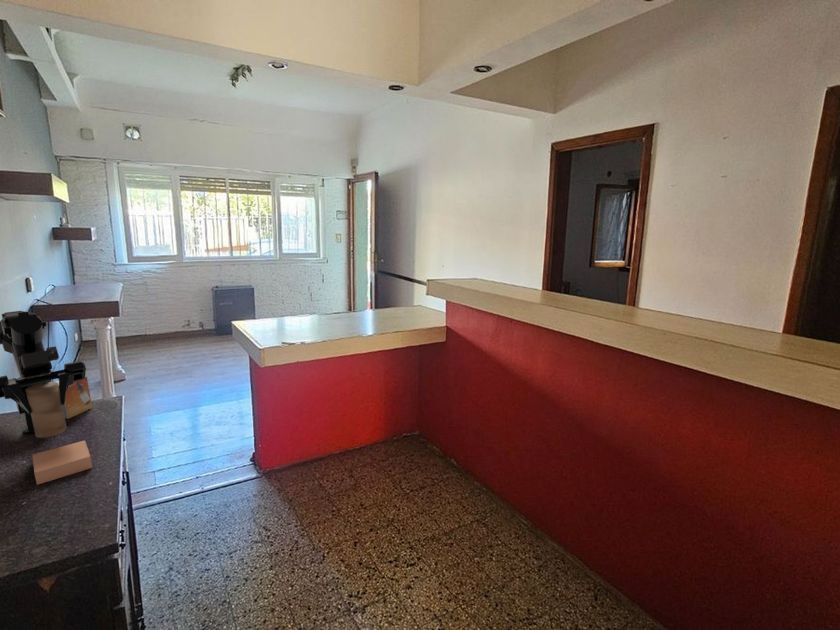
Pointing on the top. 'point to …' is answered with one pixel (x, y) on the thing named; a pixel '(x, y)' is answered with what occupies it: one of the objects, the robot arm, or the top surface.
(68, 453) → the terracotta plinth
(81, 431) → the top surface
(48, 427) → the beige tall cylinder
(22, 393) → the robot arm
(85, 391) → the small box
